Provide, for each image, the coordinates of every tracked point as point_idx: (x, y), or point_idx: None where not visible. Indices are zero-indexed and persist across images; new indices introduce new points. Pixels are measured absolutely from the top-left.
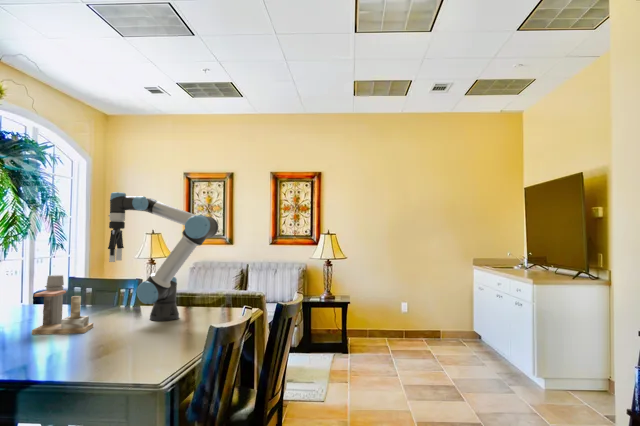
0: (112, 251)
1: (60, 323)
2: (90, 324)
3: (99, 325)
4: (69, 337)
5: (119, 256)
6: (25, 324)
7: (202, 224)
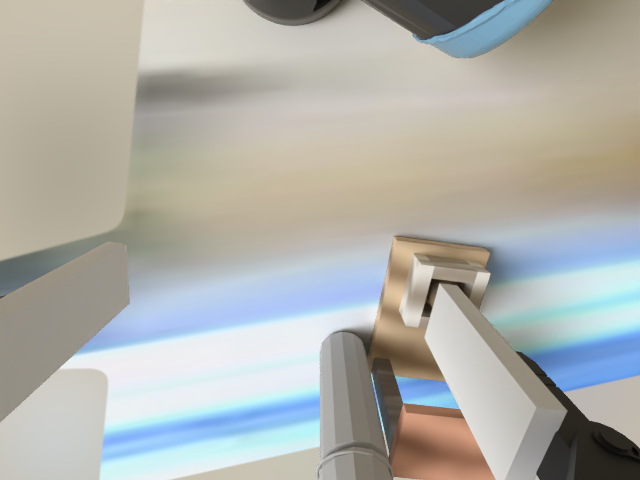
0: (566, 413)
1: (350, 335)
2: (422, 246)
3: (369, 220)
4: (530, 278)
5: (92, 291)
6: (286, 417)
7: None
